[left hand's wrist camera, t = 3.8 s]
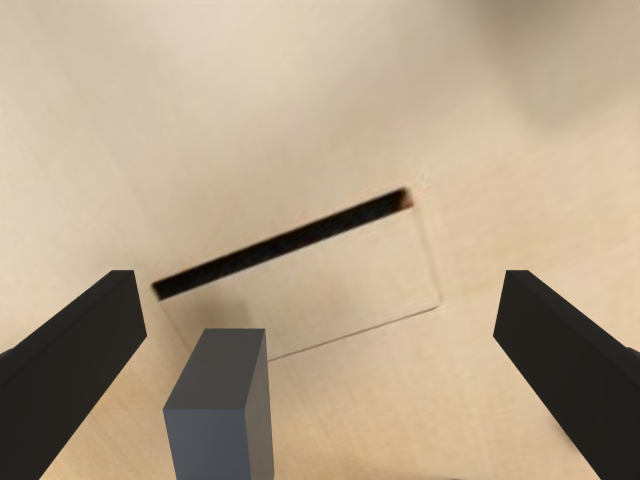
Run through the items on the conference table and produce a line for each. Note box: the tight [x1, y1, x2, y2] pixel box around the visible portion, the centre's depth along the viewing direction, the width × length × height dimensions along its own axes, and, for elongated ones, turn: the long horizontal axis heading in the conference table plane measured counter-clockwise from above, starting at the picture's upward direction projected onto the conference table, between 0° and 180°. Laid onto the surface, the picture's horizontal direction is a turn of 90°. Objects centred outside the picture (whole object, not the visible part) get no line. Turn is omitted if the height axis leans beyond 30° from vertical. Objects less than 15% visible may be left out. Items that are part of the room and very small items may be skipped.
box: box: [163, 329, 274, 480], centre depth 35 cm, size 21×6×10 cm, turn 0°
